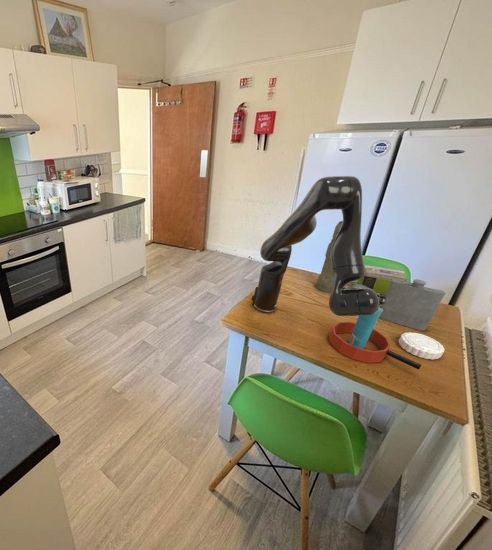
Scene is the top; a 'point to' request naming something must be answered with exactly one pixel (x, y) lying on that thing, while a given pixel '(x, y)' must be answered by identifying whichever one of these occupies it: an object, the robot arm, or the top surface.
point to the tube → (364, 329)
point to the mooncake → (421, 345)
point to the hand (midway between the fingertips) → (359, 292)
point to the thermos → (328, 266)
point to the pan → (363, 353)
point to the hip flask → (411, 303)
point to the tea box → (380, 278)
